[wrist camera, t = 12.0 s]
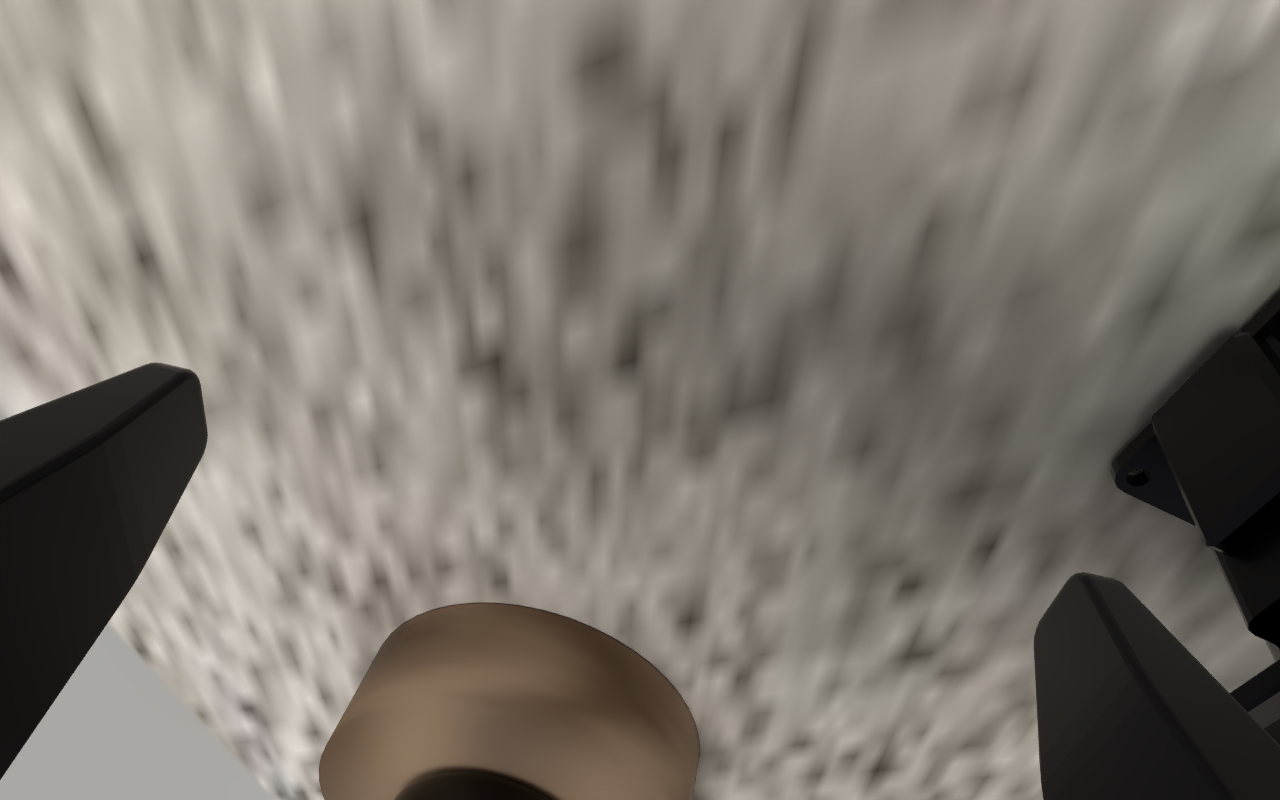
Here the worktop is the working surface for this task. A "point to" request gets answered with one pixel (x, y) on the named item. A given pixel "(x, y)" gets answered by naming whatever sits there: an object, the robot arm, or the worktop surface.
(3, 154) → the worktop surface
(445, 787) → the supplement bottle
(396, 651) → the walnut plinth
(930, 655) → the worktop surface
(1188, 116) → the worktop surface
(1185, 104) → the worktop surface
